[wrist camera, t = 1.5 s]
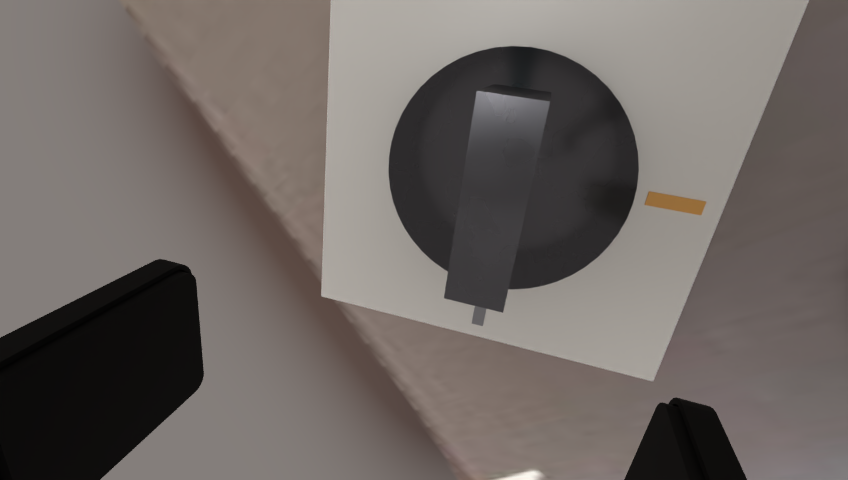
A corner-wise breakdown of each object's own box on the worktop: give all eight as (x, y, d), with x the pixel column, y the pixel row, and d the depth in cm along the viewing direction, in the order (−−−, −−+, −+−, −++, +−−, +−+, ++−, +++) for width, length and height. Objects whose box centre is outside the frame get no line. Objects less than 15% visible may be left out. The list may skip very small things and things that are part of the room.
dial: (408, 32, 26) (356, 22, 19) (669, 65, 23) (718, 67, 16) (387, 252, 31) (341, 306, 24) (595, 300, 29) (608, 375, 22)
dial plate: (803, -31, 22) (826, -39, 20) (647, 363, 32) (653, 382, 30) (348, -69, 27) (332, -79, 25) (332, 284, 36) (320, 296, 34)
